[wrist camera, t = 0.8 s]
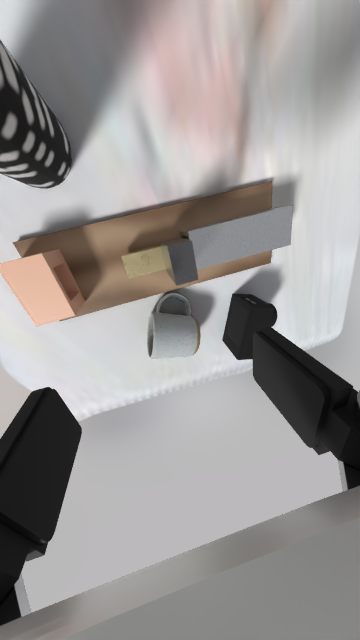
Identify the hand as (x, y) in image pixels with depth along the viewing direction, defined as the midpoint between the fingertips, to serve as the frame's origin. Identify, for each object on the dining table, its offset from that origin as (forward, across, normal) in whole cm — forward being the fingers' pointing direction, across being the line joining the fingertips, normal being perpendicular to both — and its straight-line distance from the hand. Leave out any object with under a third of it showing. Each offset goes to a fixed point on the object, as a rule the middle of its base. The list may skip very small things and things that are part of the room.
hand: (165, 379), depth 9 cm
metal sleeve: (+23, -14, -3) cm, 27 cm away
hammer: (+22, -9, -3) cm, 24 cm away
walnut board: (+24, -3, -3) cm, 25 cm away
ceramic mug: (+25, -2, +9) cm, 26 cm away
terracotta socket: (+23, +13, -2) cm, 27 cm away
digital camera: (+25, -16, +13) cm, 32 cm away
